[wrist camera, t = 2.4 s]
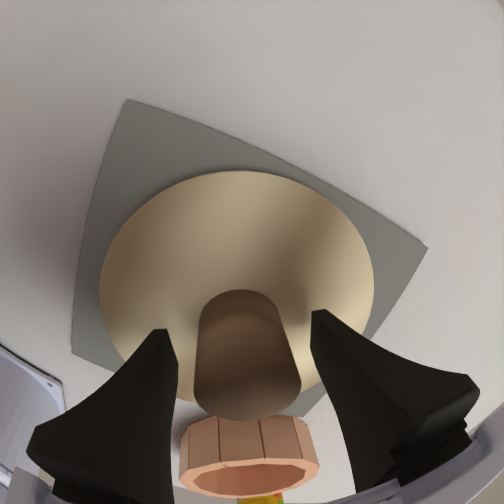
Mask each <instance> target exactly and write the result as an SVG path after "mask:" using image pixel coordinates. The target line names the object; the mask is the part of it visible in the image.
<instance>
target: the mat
mask: <svg viewBox="0 0 504 504" xmlns="http://www.w3.org/2000/svg"><path fill="white" fill-rule="evenodd" d="M236 170H246V171H256V172H265V173H269V174H273V175H277V176H281V177H285V178H288V179H290V180H293V181H295V182H297V183H300V184H302V185H304V186H307V187H309V188H311V189H312V190H314V191H316V192H317V193H319V194H320V195H322V196H324V197H325V198H327V199H328V200H330V201H331V202H332V203H333V204H334V205H335V206H336V207H338V208H339V209H340V210H341V211H342V212H343V213H344V214H345V215H346V216H347V217H348V219H349V220H350V221H351V222H352V223H353V225H354V226H355V227H356V229H357V231H358V232H359V234H360V236H361V237H362V239H363V241H364V243H365V246H366V248H367V251H368V253H369V256H370V260H371V264H372V269H373V277H374V294H373V303H372V308H371V312H370V316H369V319H368V322H367V324H366V327H365V329H364V331H363V333H362V336H364V337H365V338H367V339H368V340H370V339H371V338H372V337H373V335H374V334H375V333H376V331H377V330H378V328H379V327H380V326H381V324H382V323H383V321H384V320H385V319H386V317H387V316H388V314H389V313H390V311H391V310H392V308H393V307H394V305H395V304H396V302H397V301H398V299H399V298H400V296H401V294H402V293H403V291H404V290H405V288H406V286H407V285H408V283H409V282H410V280H411V278H412V277H413V275H414V273H415V271H416V270H417V268H418V266H419V264H420V263H421V261H422V259H423V257H424V255H425V254H426V252H427V250H428V247H426V246H425V245H424V244H422V243H421V242H419V241H418V240H416V239H415V238H414V237H412V236H411V235H409V234H408V233H406V232H405V231H403V230H402V229H400V228H399V227H397V226H396V225H394V224H393V223H391V222H390V221H388V220H387V219H385V218H384V217H382V216H380V215H379V214H377V213H376V212H374V211H372V210H371V209H369V208H368V207H366V206H364V205H363V204H361V203H359V202H358V201H356V200H354V199H353V198H351V197H349V196H347V195H346V194H344V193H342V192H341V191H339V190H337V189H335V188H333V187H332V186H330V185H328V184H326V183H325V182H323V181H321V180H319V179H317V178H315V177H313V176H312V175H310V174H308V173H306V172H304V171H302V170H300V169H298V168H296V167H294V166H292V165H290V164H288V163H286V162H284V161H282V160H280V159H278V158H276V157H274V156H272V155H270V154H268V153H266V152H263V151H261V150H259V149H257V148H255V147H253V146H250V145H248V144H246V143H244V142H241V141H239V140H237V139H235V138H232V137H230V136H228V135H225V134H223V133H220V132H218V131H216V130H213V129H211V128H208V127H206V126H203V125H201V124H198V123H195V122H193V121H190V120H187V119H185V118H182V117H179V116H176V115H174V114H171V113H168V112H165V111H162V110H159V109H156V108H153V107H150V106H147V105H144V104H141V103H138V102H134V101H131V100H128V99H127V101H126V103H125V105H124V108H123V110H122V112H121V115H120V117H119V120H118V122H117V124H116V127H115V129H114V132H113V135H112V137H111V140H110V143H109V145H108V148H107V151H106V154H105V157H104V160H103V163H102V166H101V169H100V172H99V176H98V179H97V182H96V186H95V189H94V193H93V197H92V200H91V204H90V208H89V213H88V217H87V221H86V226H85V230H84V235H83V240H82V246H81V251H80V257H79V264H78V271H77V278H76V286H75V295H74V307H73V321H72V354H74V355H76V356H78V357H81V358H83V359H85V360H87V361H89V362H91V363H94V364H96V365H98V366H101V367H103V368H105V369H108V370H110V371H113V372H115V373H116V372H117V371H118V370H119V368H120V367H121V366H122V365H123V364H124V363H125V362H126V361H125V360H124V359H123V358H122V357H121V355H120V354H119V352H118V351H117V349H116V348H115V347H114V345H113V343H112V341H111V339H110V337H109V335H108V333H107V330H106V327H105V325H104V322H103V318H102V314H101V308H100V300H99V284H100V276H101V270H102V267H103V263H104V260H105V256H106V254H107V252H108V250H109V247H110V245H111V243H112V241H113V239H114V238H115V236H116V235H117V233H118V232H119V230H120V229H121V228H122V226H123V225H124V223H125V222H126V221H127V220H128V219H129V218H130V217H131V216H132V215H133V214H134V213H135V212H136V211H137V210H138V209H139V208H140V207H141V206H143V205H144V204H145V203H147V202H148V201H149V200H151V199H152V198H153V197H155V196H156V195H157V194H159V193H160V192H162V191H164V190H166V189H168V188H169V187H171V186H173V185H175V184H177V183H179V182H182V181H185V180H188V179H190V178H193V177H196V176H199V175H204V174H209V173H214V172H220V171H236ZM326 393H327V391H326V389H325V387H324V385H323V382H322V380H321V381H320V382H319V383H317V384H315V385H314V386H312V387H310V388H309V389H307V390H305V391H303V392H301V393H299V395H298V397H297V398H296V400H295V401H294V402H293V403H292V404H291V405H290V406H289V407H287V408H286V409H284V410H283V411H281V412H279V413H277V414H278V415H287V416H296V417H304V416H305V415H306V414H307V413H308V412H309V411H310V409H311V408H312V407H313V406H314V405H315V404H316V403H317V402H318V401H319V400H320V399H321V398H322V397H323V396H324V395H325V394H326Z"/></svg>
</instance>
